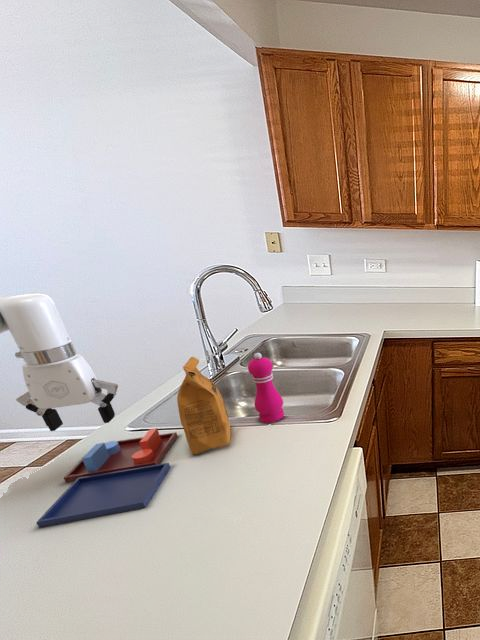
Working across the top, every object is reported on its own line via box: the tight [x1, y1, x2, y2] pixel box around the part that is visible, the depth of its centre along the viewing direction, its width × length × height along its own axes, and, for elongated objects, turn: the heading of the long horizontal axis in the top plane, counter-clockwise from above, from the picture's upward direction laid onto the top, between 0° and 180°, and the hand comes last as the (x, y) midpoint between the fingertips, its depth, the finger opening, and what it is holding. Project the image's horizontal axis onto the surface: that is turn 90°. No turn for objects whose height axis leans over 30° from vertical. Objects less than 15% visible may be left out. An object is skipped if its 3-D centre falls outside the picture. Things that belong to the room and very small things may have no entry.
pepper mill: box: [247, 352, 285, 424], centre depth 110 cm, size 7×7×20 cm
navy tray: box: [36, 462, 171, 529], centre depth 84 cm, size 17×14×1 cm
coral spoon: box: [132, 427, 162, 465], centre depth 97 cm, size 10×4×4 cm, turn 18°
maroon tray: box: [63, 431, 179, 484], centre depth 96 cm, size 17×14×1 cm
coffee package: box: [176, 356, 231, 455], centre depth 99 cm, size 10×12×22 cm
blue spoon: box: [81, 440, 120, 473], centre depth 95 cm, size 10×4×4 cm, turn 18°
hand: (83, 423), depth 89 cm, fingers open, 9 cm apart
